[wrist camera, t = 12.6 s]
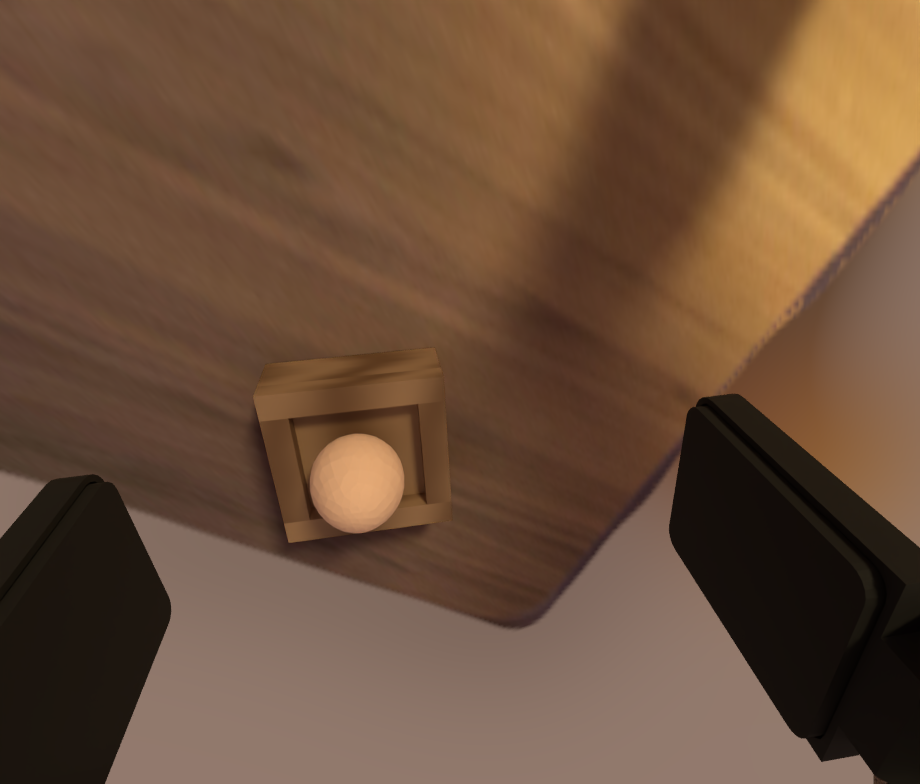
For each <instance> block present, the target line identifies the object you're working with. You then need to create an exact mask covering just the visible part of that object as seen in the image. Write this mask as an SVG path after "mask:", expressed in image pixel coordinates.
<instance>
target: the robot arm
mask: <svg viewBox="0 0 920 784" xmlns="http://www.w3.org/2000/svg"><path fill="white" fill-rule="evenodd" d="M669 534H670V538H671V541H672V544H673V546H674V548H675V550H676V552H677V553H678V555H679V556H680V558H681V559H682V561H683V562H684V564H685V566H686V567H687V569H688V570H689V572H690V573H691V575H692V577H693V578H694V579H695V581H696V583H697V584H698V586H699V588H700V589H701V591H702V592H703V594H704V595H705V597H706V599H707V600H708V602H709V603H710V605H711V606H712V608H713V610H714V611H715V613H716V614H717V616H718V617H719V619H720V621H721V622H722V624H723V625H724V627H725V628H726V630H727V631H728V633H729V635H730V636H731V638H732V639H733V641H734V642H735V644H736V646H737V647H738V649H739V650H740V652H741V653H742V655H743V656H744V658H745V660H746V661H747V663H748V664H749V666H750V667H751V669H752V671H753V672H754V674H755V675H756V677H757V679H758V680H759V682H760V683H761V685H762V686H763V688H764V689H765V691H766V693H767V694H768V696H769V697H770V699H771V700H772V702H773V703H774V705H775V707H776V708H777V710H778V711H779V713H780V715H781V716H782V718H783V719H784V721H785V722H786V724H787V725H788V727H789V728H790V729H791V731H792V732H793V733H794V734H795V735H796V736H798V737H800V738H806V739H807V740H808V742H809V743H810V745H811V747H812V748H813V750H814V751H815V753H816V754H817V756H818V757H819V759H820V760H821V762H823V761H829V760H834V759H840V758H845V757H850V756H856V755H859V754H860V756H861V757H862V758H863V760H864V761H865V763H866V764H867V765H868V767H869V768H870V770H871V771H872V772H873V774H874V784H920V548H919V547H918V546H917V545H916V544H915V543H913V542H912V541H911V540H910V539H909V538H908V537H906V536H905V535H904V534H903V533H902V532H901V531H899V530H898V529H897V528H896V527H895V526H894V525H892V524H891V523H890V522H889V521H888V520H886V519H885V518H884V517H883V516H882V515H881V514H879V513H878V512H877V511H876V510H875V509H874V508H872V507H871V506H870V505H869V504H868V503H866V502H865V501H864V500H863V499H862V498H861V497H859V496H858V495H857V494H856V493H855V492H854V491H852V490H851V489H850V488H849V487H848V486H846V485H845V484H844V483H843V482H842V481H841V480H840V479H838V478H837V477H836V476H835V475H834V474H832V473H831V472H830V471H829V470H828V469H827V468H825V467H824V466H823V465H822V464H821V463H820V462H818V461H817V460H816V459H815V458H814V457H813V456H811V455H810V454H809V453H808V452H807V451H806V450H804V449H803V448H802V447H801V446H800V445H798V444H797V443H796V442H795V441H794V440H793V439H791V438H790V437H789V436H788V435H787V434H785V433H784V432H783V431H782V430H781V429H780V428H778V427H777V426H776V425H775V424H774V423H772V422H771V421H770V420H769V419H768V418H767V417H765V416H764V415H763V414H762V413H761V412H760V411H759V410H757V409H756V408H755V407H754V406H753V405H751V404H750V403H749V402H748V401H747V400H746V399H745V398H743V397H742V396H740V395H739V394H727V395H719V396H711V397H703V398H701V399H700V400H699V401H698V403H697V404H696V407H693V408H691V409H690V410H689V411H688V414H687V418H686V424H685V431H684V437H683V443H682V449H681V455H680V462H679V468H678V474H677V480H676V487H675V493H674V499H673V505H672V512H671V518H670V524H669ZM170 615H171V603H170V599H169V596H168V594H167V592H166V590H165V588H164V586H163V584H162V582H161V580H160V578H159V576H158V574H157V571H156V569H155V567H154V565H153V563H152V561H151V559H150V557H149V555H148V553H147V551H146V549H145V546H144V544H143V542H142V540H141V538H140V536H139V534H138V532H137V530H136V528H135V526H134V524H133V522H132V519H131V517H130V515H129V513H128V511H127V509H126V507H125V505H124V503H123V501H122V499H121V496H120V494H119V492H118V490H117V489H116V487H115V485H113V484H112V483H110V482H104V481H103V479H102V478H101V477H99V476H98V475H93V474H92V475H84V476H76V477H68V478H60V479H55V480H51V481H50V482H49V483H48V484H46V485H45V487H44V488H43V489H42V490H41V491H40V492H39V494H38V495H37V496H36V497H35V498H34V500H33V501H32V502H31V503H30V504H29V506H28V507H27V508H26V509H25V510H24V511H23V513H22V514H21V515H20V516H19V517H18V518H17V520H16V521H15V522H14V523H13V524H12V526H11V527H10V528H9V529H8V530H7V531H6V533H5V534H4V535H3V536H2V537H1V539H0V784H105V782H106V779H107V777H108V774H109V772H110V769H111V767H112V764H113V762H114V759H115V757H116V754H117V752H118V749H119V747H120V744H121V742H122V739H123V737H124V734H125V732H126V729H127V726H128V724H129V722H130V719H131V717H132V714H133V712H134V709H135V707H136V704H137V702H138V699H139V697H140V694H141V691H142V689H143V687H144V684H145V682H146V679H147V677H148V674H149V671H150V669H151V666H152V664H153V661H154V659H155V656H156V654H157V651H158V649H159V646H160V644H161V641H162V639H163V636H164V634H165V631H166V629H167V626H168V624H169V621H170Z"/></svg>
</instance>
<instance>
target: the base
mask: <svg viewBox="0 0 920 784" xmlns="http://www.w3.org/2000/svg"><path fill="white" fill-rule="evenodd" d="M253 399H254V403H255V407H256V411H257V415H258V419H259V423H260V427H261V431H262V436H263V440H264V444H265V448H266V452H267V456H268V460H269V464H270V468H271V472H272V476H273V481H274V485H275V489H276V493H277V497H278V501H279V505H280V509H281V513H282V517H283V521H284V526H285V530H286V534H287V538H288V542H289V543H292V542H299V541H307V540H314V539H321V538H328V537H336V536H343V535H350V534H358V533H349V532H343V531H341V530H339V529H337V528H335V527H333V526H331V525H330V524H329V523H328V522H326V521H325V520H324V519H323V517H322V516H321V515H320V514H319V513H318V511H317V509H316V508H315V506H314V504H313V501H312V497H311V493H310V475H311V470H312V467H313V463H314V461H315V460H316V458H317V456H318V455H319V453H320V452H321V451H322V450H323V449H324V448H325V447H326V446H327V445H328V444H329V443H331V442H332V441H334V440H336V439H337V438H339V437H342V436H346V435H350V434H367V435H371V436H375V437H377V438H379V439H381V440H383V441H384V442H385V443H387V444H388V445H390V446H391V447H392V449H393V450H394V451H395V452H396V454H397V455H398V457H399V459H400V461H401V464H402V467H403V472H404V490H403V494H402V498H401V501H400V503H399V505H398V507H397V509H396V510H395V512H394V513H393V514H392V515H391V516H390V518H389V519H388V520H387V521H386V522H384V523H383V524H381V525H380V526H379V527H377V528H375V529H373V530H371V531H368V532H372V531H379V530H387V529H394V528H401V527H408V526H416V525H423V524H430V523H437V522H445V521H452V504H451V488H450V472H449V455H448V439H447V422H446V406H445V390H444V376H443V373H442V369H441V366H440V363H439V360H438V356H437V353H436V350H435V347H433V348H423V349H413V350H403V351H393V352H383V353H373V354H363V355H352V356H342V357H332V358H322V359H312V360H302V361H292V362H282V363H272V364H266V365H265V367H264V370H263V372H262V375H261V378H260V380H259V383H258V385H257V388H256V391H255V393H254V396H253ZM364 533H365V532H364Z"/></svg>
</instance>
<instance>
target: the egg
mask: <svg viewBox="0 0 920 784" xmlns="http://www.w3.org/2000/svg"><path fill="white" fill-rule="evenodd" d="M403 490H404V472H403V467H402V464H401V461H400V459H399V457H398V455H397V454H396V452H395V451H394V450H393V449H392V447H391V446H390V445H388V444H387V443H385V442H384V441H383V440H381V439H379V438H377V437H375V436H371V435H367V434H350V435H346V436H342V437H339V438H337V439H336V440H334V441H332V442H331V443H329V444H328V445H327V446H326V447H325V448H324V449H323V450H322V451H321V452H320V453H319V455H318V456H317V458H316V460H315V461H314V463H313V467H312V470H311V475H310V493H311V497H312V501H313V504H314V506H315V508H316V509H317V511H318V513H319V514H320V515H321V516H322V517H323V519H324V520H325V521H326V522H328V523H329V524H330V525H331V526H333V527H335V528H337V529H339V530H341V531H343V532H349V533H364V532H368V531H371V530H373V529H375V528H377V527H379V526H380V525H381V524H383V523H384V522H386V521H387V520H388V519H389V518H390V516H391V515H392V514H393V513H394V512H395V510H396V509H397V507H398V505H399V503H400V501H401V498H402V494H403Z"/></svg>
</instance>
